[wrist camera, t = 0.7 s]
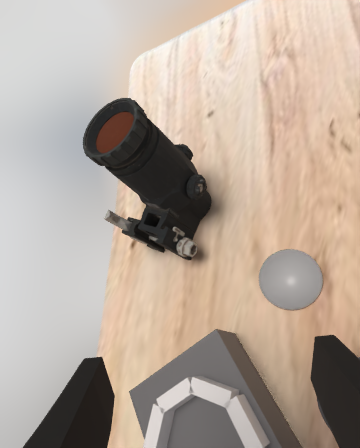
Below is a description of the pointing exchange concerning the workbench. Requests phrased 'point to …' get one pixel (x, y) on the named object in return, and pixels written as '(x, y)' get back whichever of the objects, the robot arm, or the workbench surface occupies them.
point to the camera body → (210, 401)
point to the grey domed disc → (290, 279)
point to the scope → (149, 177)
